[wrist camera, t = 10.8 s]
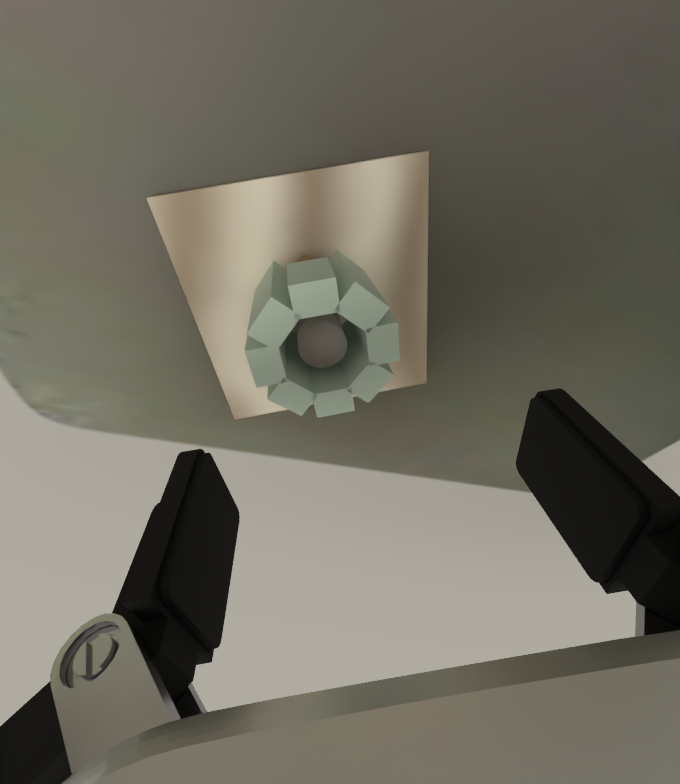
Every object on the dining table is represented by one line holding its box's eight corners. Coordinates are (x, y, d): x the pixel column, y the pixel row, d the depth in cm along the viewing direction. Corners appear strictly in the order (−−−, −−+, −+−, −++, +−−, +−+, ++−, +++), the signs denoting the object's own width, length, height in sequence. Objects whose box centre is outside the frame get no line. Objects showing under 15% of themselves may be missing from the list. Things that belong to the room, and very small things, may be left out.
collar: (366, 237, 19) (395, 266, 14) (376, 349, 23) (401, 401, 18) (240, 259, 19) (226, 296, 14) (272, 368, 23) (269, 427, 18)
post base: (422, 151, 18) (474, 150, 13) (421, 375, 26) (454, 426, 21) (152, 195, 18) (103, 212, 13) (236, 411, 26) (226, 472, 21)
